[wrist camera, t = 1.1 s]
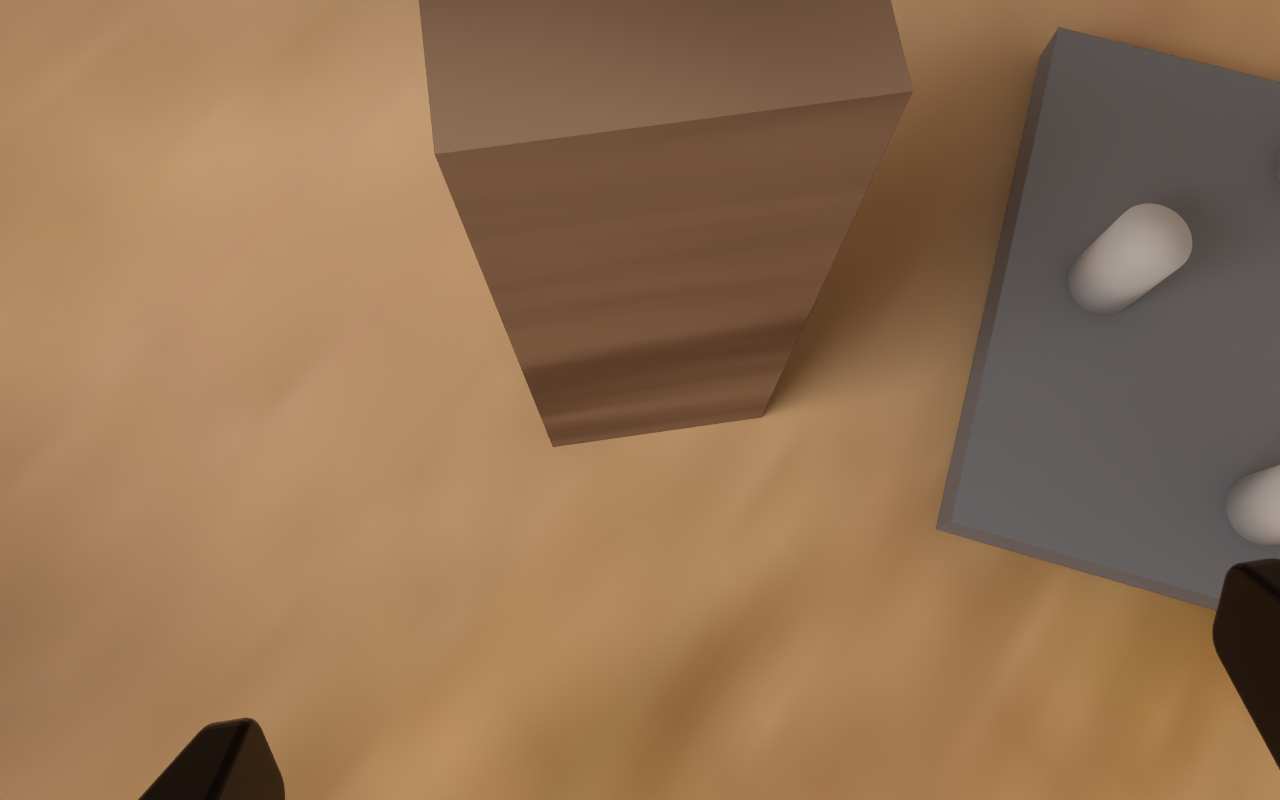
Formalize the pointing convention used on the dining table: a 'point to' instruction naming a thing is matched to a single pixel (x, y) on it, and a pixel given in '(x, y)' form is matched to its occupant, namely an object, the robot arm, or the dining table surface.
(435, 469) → the dining table surface
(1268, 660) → the robot arm
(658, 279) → the walnut post
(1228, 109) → the peg nest
